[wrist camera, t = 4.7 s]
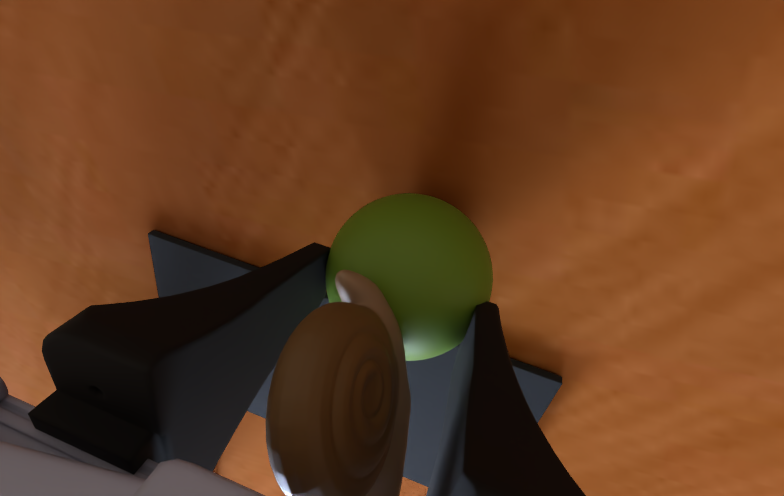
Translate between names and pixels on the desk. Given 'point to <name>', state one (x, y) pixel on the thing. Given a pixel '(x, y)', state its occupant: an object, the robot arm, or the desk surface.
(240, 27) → the desk surface
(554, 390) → the mat
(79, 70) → the desk surface
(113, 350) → the robot arm
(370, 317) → the snail figurine
